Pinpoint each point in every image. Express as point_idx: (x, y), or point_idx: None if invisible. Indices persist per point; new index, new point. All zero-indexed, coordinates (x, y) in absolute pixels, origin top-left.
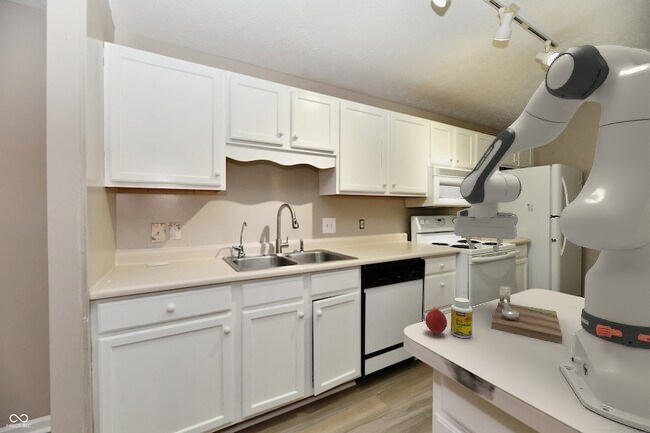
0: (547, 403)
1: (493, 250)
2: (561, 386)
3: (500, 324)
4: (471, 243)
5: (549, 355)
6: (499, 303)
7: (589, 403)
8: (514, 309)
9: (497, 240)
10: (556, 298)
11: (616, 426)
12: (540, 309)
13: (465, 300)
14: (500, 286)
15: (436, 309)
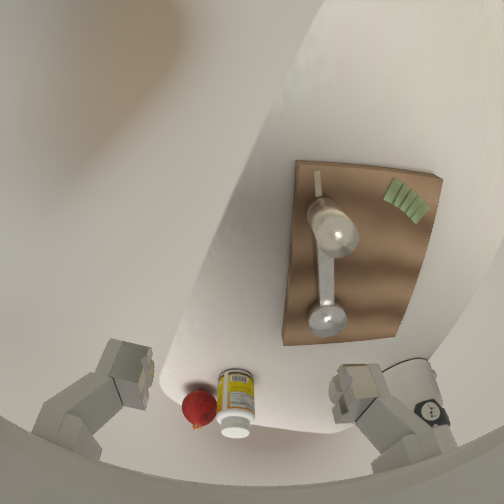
0: (324, 427)
1: (331, 389)
2: None
3: (301, 343)
4: (114, 394)
5: None
6: (303, 184)
7: (353, 423)
8: None
9: (377, 469)
10: None
11: None
12: (412, 182)
13: (242, 433)
14: (322, 240)
15: (199, 428)
